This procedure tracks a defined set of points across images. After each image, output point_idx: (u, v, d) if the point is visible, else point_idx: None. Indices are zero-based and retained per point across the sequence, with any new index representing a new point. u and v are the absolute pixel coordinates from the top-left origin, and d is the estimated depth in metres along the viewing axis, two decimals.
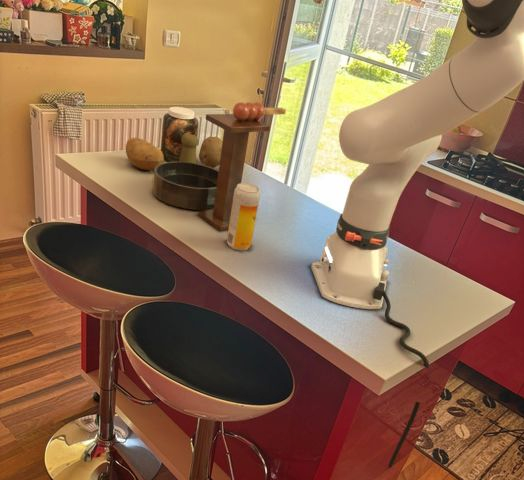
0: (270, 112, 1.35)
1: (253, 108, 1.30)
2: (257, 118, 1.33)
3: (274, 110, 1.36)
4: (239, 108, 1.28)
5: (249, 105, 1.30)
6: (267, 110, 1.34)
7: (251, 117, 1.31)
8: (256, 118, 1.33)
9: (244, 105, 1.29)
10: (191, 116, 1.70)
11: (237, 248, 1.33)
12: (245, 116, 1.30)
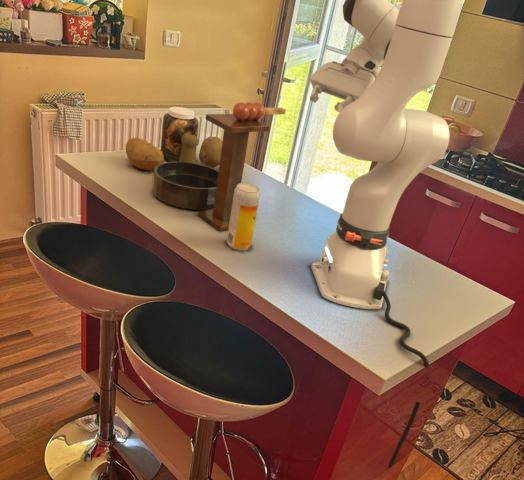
0: (270, 112, 1.35)
1: (253, 108, 1.30)
2: (257, 118, 1.33)
3: (274, 110, 1.36)
4: (239, 108, 1.28)
5: (249, 105, 1.30)
6: (267, 110, 1.34)
7: (251, 117, 1.31)
8: (256, 118, 1.33)
9: (244, 105, 1.29)
10: (191, 116, 1.70)
11: (237, 248, 1.33)
12: (245, 116, 1.30)
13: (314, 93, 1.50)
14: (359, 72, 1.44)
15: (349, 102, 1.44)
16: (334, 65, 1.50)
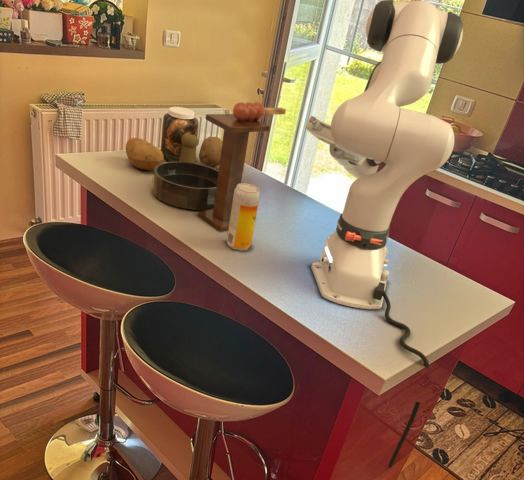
0: (270, 112, 1.35)
1: (253, 108, 1.30)
2: (257, 118, 1.33)
3: (274, 110, 1.36)
4: (239, 108, 1.28)
5: (249, 105, 1.30)
6: (267, 110, 1.34)
7: (251, 117, 1.31)
8: (256, 118, 1.33)
9: (244, 105, 1.29)
10: (191, 116, 1.70)
11: (237, 248, 1.33)
12: (245, 116, 1.30)
13: None
14: None
15: None
16: None
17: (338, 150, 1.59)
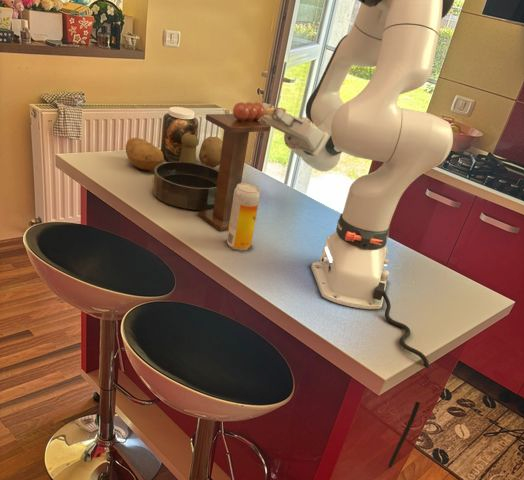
0: (270, 112, 1.35)
1: (253, 108, 1.30)
2: (257, 118, 1.33)
3: (274, 110, 1.36)
4: (239, 108, 1.28)
5: (249, 105, 1.30)
6: (267, 110, 1.34)
7: (251, 117, 1.31)
8: (256, 118, 1.33)
9: (244, 105, 1.29)
10: (191, 116, 1.70)
11: (237, 248, 1.33)
12: (245, 116, 1.30)
13: (274, 107, 1.38)
14: None
15: (288, 119, 1.37)
16: None
17: (292, 139, 1.44)
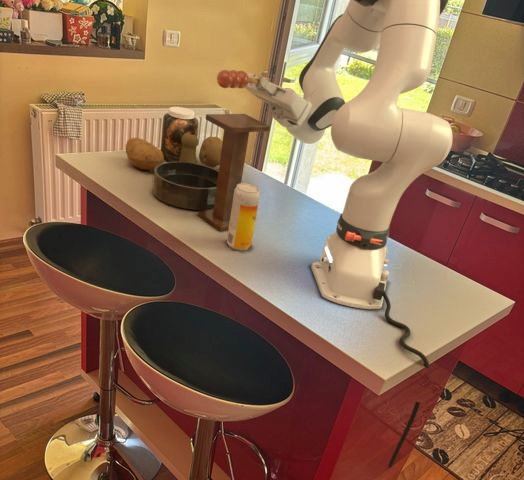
0: (254, 81, 1.38)
1: (237, 76, 1.33)
2: (241, 86, 1.36)
3: (258, 79, 1.38)
4: (223, 75, 1.31)
5: (233, 73, 1.33)
6: (251, 78, 1.37)
7: (235, 85, 1.34)
8: (240, 86, 1.36)
9: (228, 72, 1.31)
10: (191, 116, 1.70)
11: (237, 248, 1.33)
12: (229, 83, 1.32)
13: (258, 76, 1.41)
14: None
15: (272, 88, 1.40)
16: None
17: (277, 109, 1.47)
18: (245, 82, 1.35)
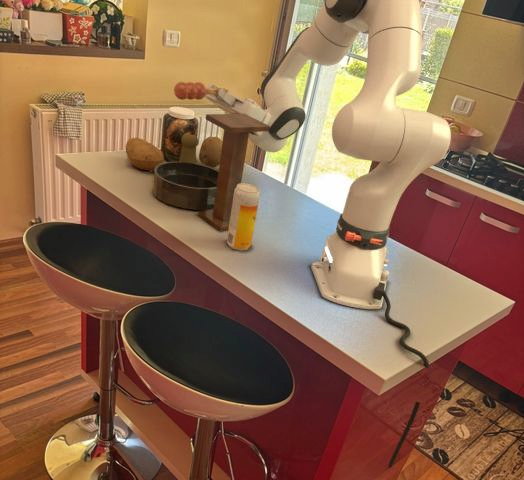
0: (212, 92, 1.40)
1: (193, 87, 1.35)
2: (198, 97, 1.38)
3: (216, 90, 1.41)
4: (179, 87, 1.34)
5: (189, 84, 1.35)
6: (209, 90, 1.40)
7: (192, 96, 1.36)
8: (197, 97, 1.38)
9: (184, 84, 1.34)
10: (191, 116, 1.70)
11: (237, 248, 1.33)
12: (185, 95, 1.35)
13: None
14: None
15: (230, 99, 1.42)
16: None
17: None
18: (202, 94, 1.38)
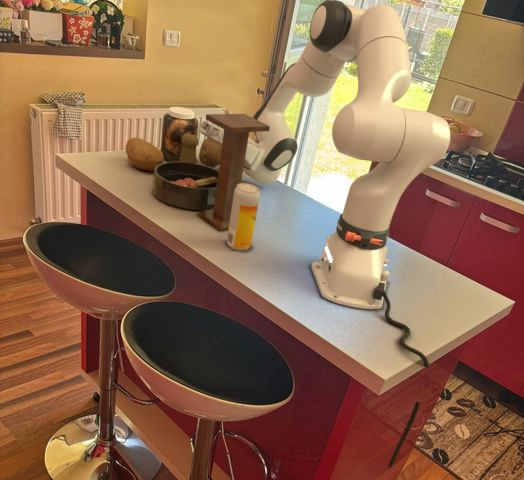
0: (201, 183, 1.55)
1: (182, 184, 1.51)
2: None
3: (205, 181, 1.55)
4: None
5: (179, 182, 1.50)
6: (198, 182, 1.54)
7: None
8: None
9: None
10: (191, 116, 1.70)
11: (237, 248, 1.33)
12: None
13: (208, 123, 1.50)
14: (248, 143, 1.53)
15: None
16: None
17: None
18: None
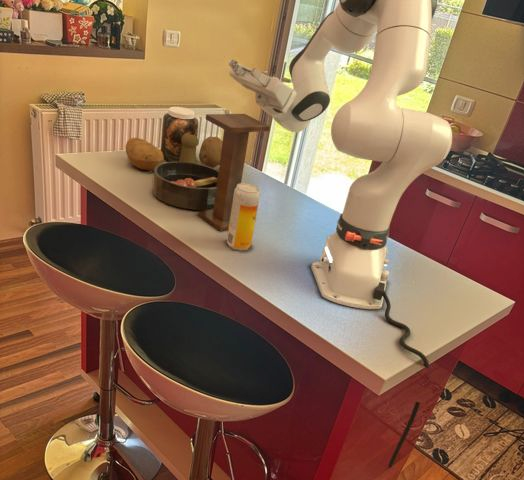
0: (201, 183, 1.55)
1: (182, 184, 1.51)
2: None
3: (205, 181, 1.55)
4: None
5: (179, 182, 1.50)
6: (198, 182, 1.54)
7: None
8: None
9: None
10: (191, 116, 1.70)
11: (237, 248, 1.33)
12: None
13: None
14: None
15: (265, 79, 1.42)
16: None
17: (262, 97, 1.51)
18: None
